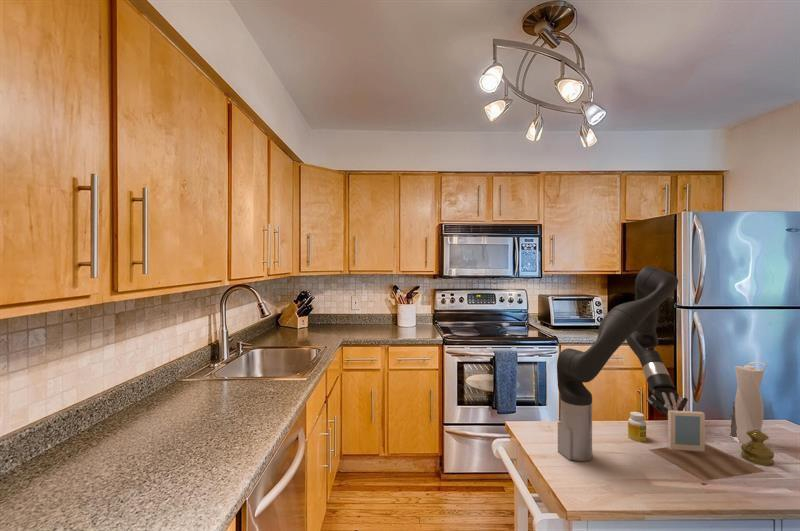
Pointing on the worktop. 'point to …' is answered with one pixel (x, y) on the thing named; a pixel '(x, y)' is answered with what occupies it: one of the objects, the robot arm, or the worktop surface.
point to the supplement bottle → (637, 427)
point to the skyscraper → (747, 402)
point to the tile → (686, 430)
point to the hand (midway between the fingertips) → (677, 425)
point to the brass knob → (757, 449)
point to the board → (707, 462)
